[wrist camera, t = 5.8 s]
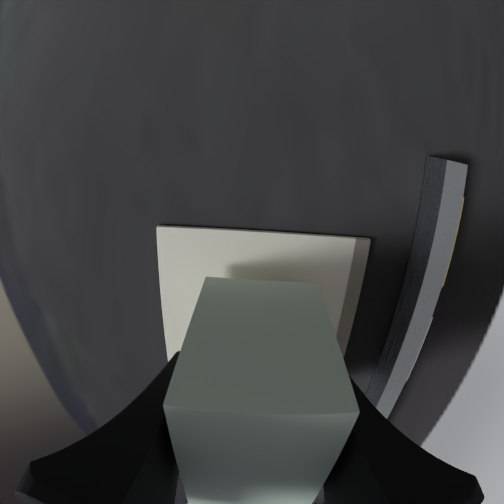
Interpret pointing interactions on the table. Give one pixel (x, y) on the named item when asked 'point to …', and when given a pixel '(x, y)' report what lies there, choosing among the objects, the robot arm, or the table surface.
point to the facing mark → (257, 270)
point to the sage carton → (258, 394)
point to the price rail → (421, 279)
